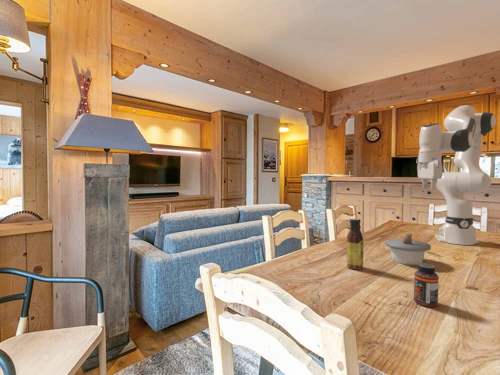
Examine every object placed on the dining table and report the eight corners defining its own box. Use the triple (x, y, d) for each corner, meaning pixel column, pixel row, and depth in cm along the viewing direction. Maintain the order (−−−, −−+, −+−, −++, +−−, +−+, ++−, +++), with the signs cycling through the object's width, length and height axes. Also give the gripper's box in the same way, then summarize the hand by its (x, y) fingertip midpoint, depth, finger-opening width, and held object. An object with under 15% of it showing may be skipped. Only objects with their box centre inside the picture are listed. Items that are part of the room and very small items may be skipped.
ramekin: (412, 268, 110) (413, 251, 109) (383, 259, 121) (383, 244, 121) (431, 263, 116) (432, 247, 116) (402, 255, 128) (402, 240, 127)
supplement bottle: (409, 298, 83) (409, 262, 82) (427, 298, 83) (428, 261, 83) (423, 308, 77) (424, 269, 76) (442, 307, 77) (444, 268, 77)
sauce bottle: (364, 270, 107) (365, 220, 106) (347, 269, 108) (348, 220, 107) (361, 265, 113) (362, 218, 113) (345, 264, 115) (346, 217, 114)
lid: (382, 240, 129) (382, 229, 129) (422, 242, 124) (423, 231, 124) (390, 249, 112) (390, 237, 112) (437, 252, 108) (437, 240, 108)
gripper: (447, 157, 116) (446, 189, 116) (429, 159, 135) (428, 187, 136) (430, 157, 117) (429, 189, 118) (415, 160, 137) (414, 187, 138)
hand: (428, 188), depth 127 cm, fingers open, 8 cm apart
